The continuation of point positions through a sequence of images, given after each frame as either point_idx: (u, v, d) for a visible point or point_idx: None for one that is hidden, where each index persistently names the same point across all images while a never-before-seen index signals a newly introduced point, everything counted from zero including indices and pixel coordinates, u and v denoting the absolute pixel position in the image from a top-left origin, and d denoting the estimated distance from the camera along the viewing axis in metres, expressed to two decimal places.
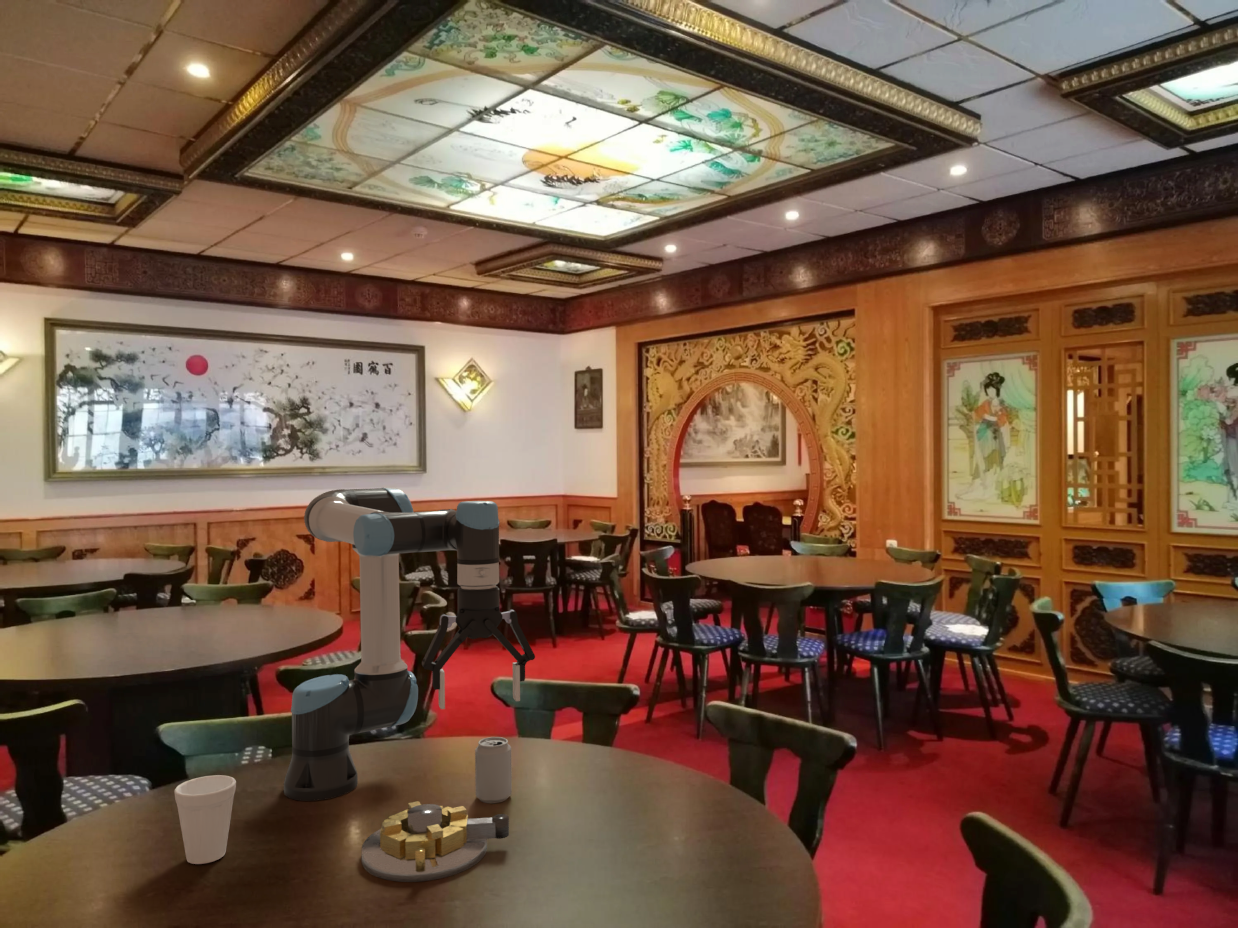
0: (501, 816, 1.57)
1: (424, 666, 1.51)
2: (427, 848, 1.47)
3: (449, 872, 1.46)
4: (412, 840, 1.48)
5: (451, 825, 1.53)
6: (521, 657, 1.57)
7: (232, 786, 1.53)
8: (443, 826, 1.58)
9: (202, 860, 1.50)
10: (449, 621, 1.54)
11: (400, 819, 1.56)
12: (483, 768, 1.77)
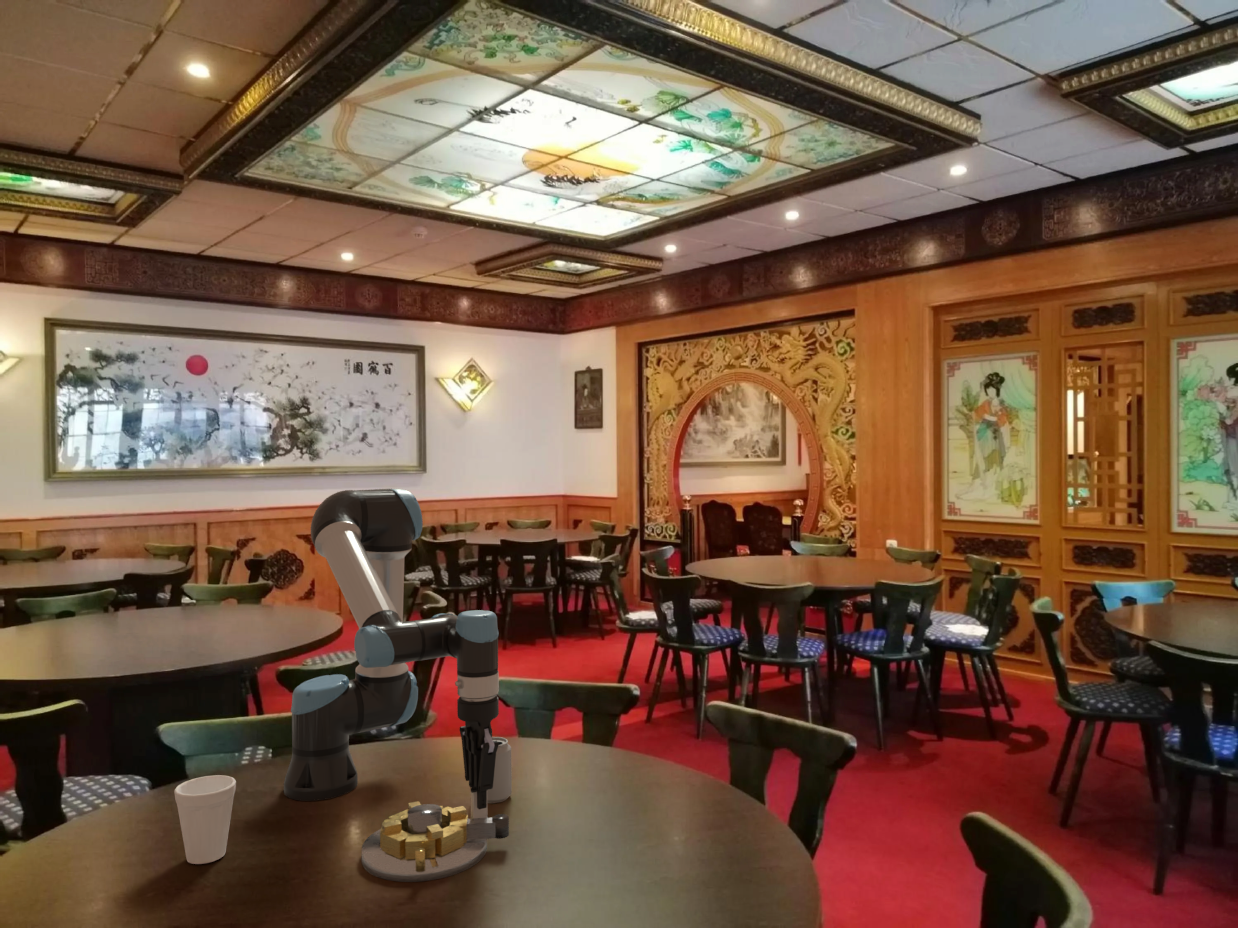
0: (501, 816, 1.57)
1: (465, 778, 1.60)
2: (427, 848, 1.47)
3: (449, 872, 1.46)
4: (412, 840, 1.48)
5: (451, 825, 1.53)
6: (476, 785, 1.56)
7: (232, 786, 1.53)
8: (443, 826, 1.58)
9: (202, 860, 1.50)
10: None
11: (400, 819, 1.56)
12: None
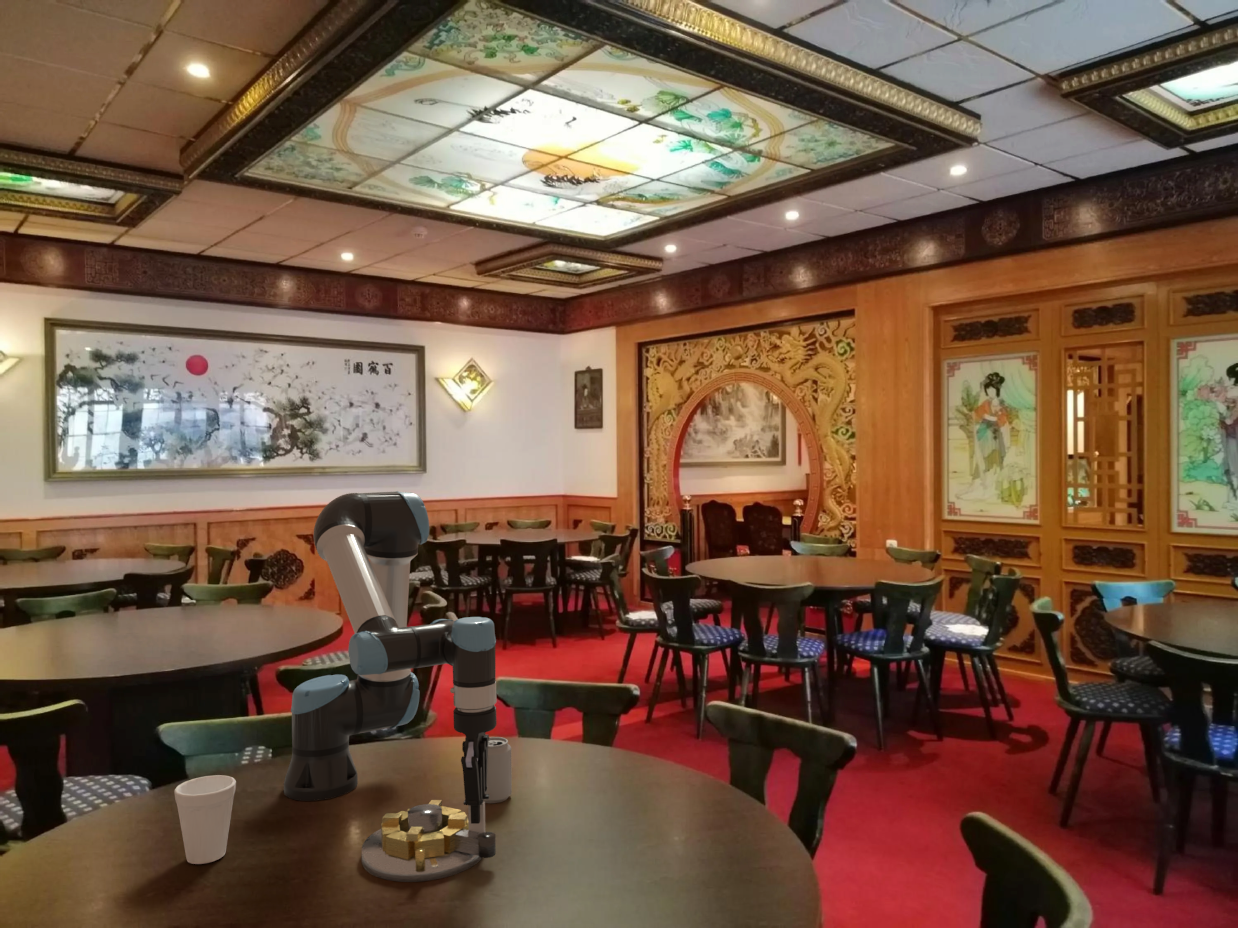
0: (488, 834, 1.49)
1: None
2: (402, 848, 1.47)
3: (449, 872, 1.46)
4: (392, 836, 1.49)
5: (440, 831, 1.51)
6: None
7: (232, 786, 1.53)
8: None
9: (202, 860, 1.50)
10: None
11: None
12: None
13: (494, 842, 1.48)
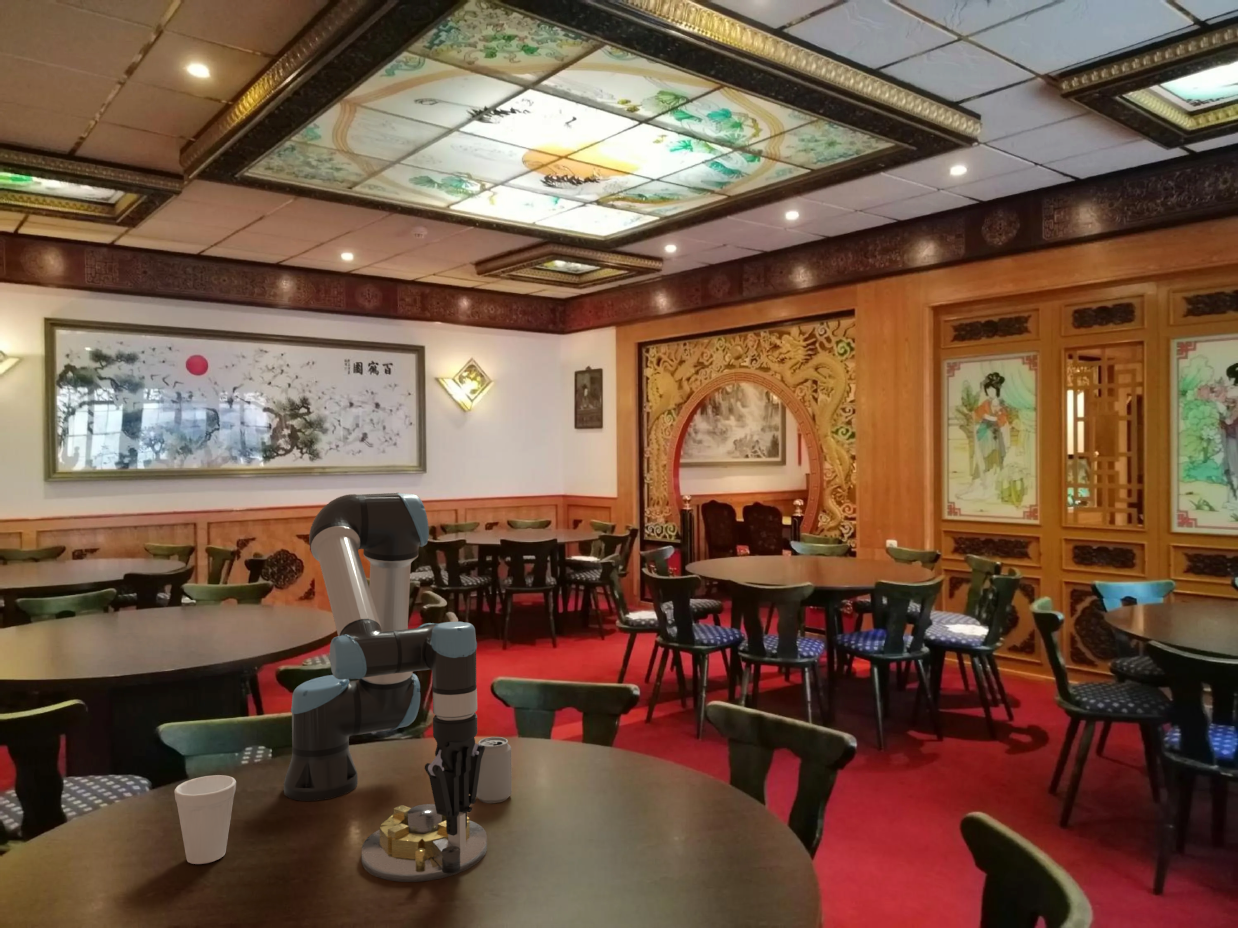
0: (452, 849, 1.43)
1: None
2: (385, 842, 1.50)
3: None
4: (383, 829, 1.52)
5: (423, 835, 1.50)
6: None
7: (232, 786, 1.53)
8: None
9: (202, 860, 1.50)
10: None
11: None
12: (483, 768, 1.77)
13: (455, 859, 1.42)
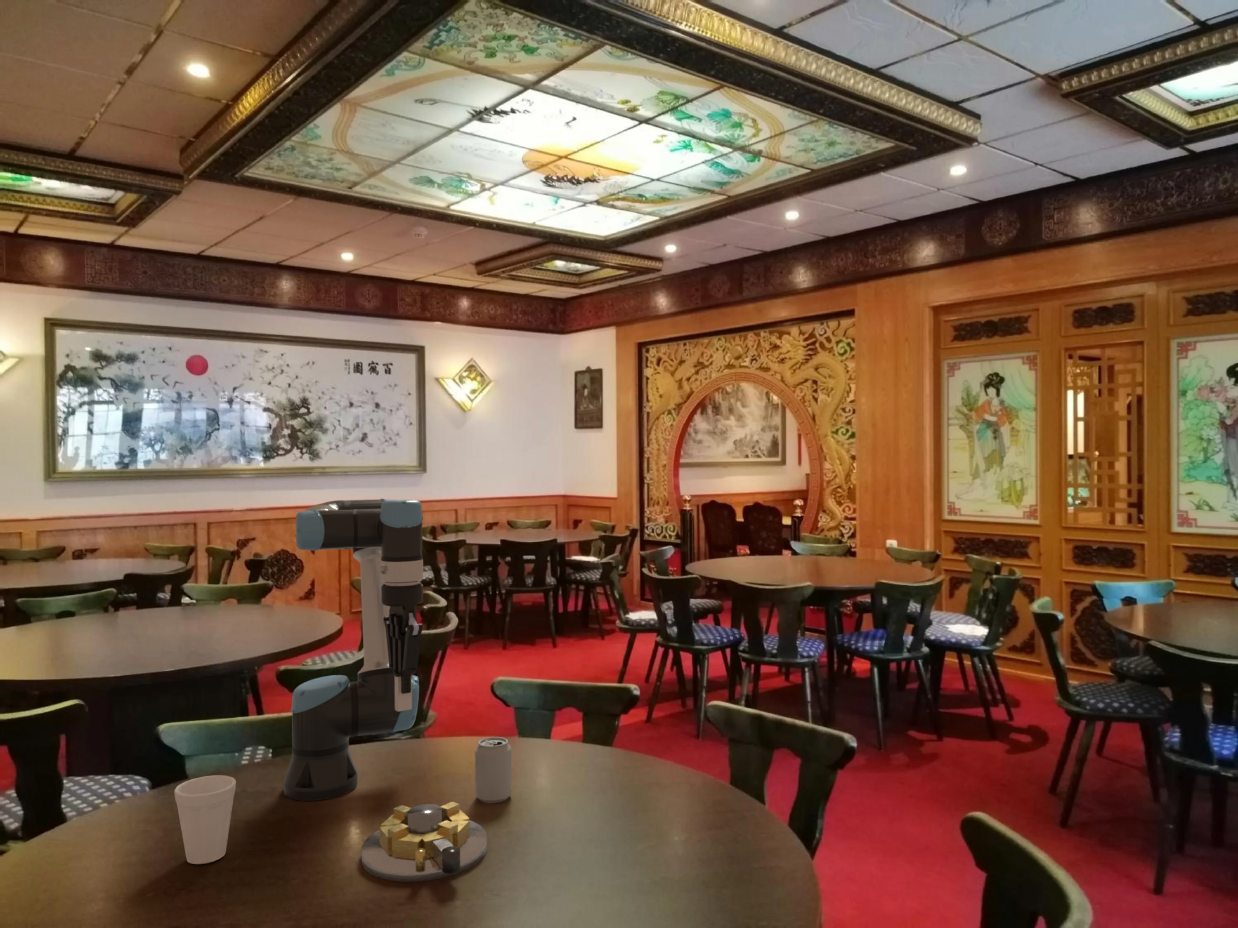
0: (452, 849, 1.43)
1: (389, 666, 1.62)
2: (385, 842, 1.50)
3: None
4: (383, 829, 1.52)
5: (423, 835, 1.50)
6: (400, 669, 1.58)
7: (232, 786, 1.53)
8: None
9: (202, 860, 1.50)
10: None
11: None
12: (483, 768, 1.77)
13: (455, 859, 1.42)
